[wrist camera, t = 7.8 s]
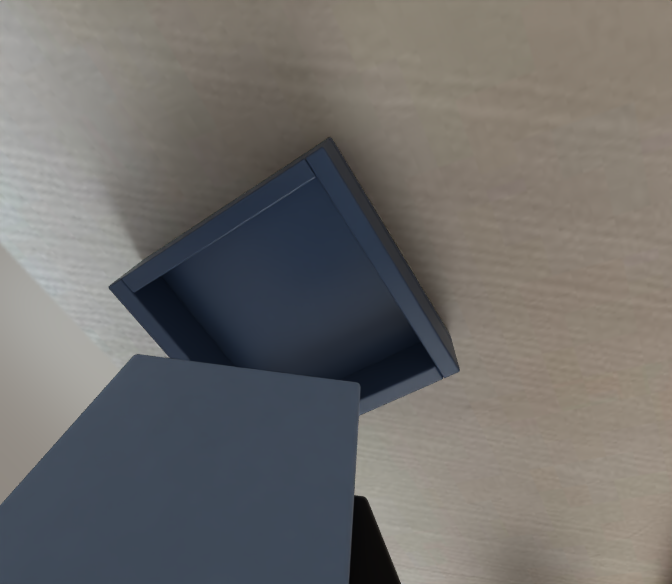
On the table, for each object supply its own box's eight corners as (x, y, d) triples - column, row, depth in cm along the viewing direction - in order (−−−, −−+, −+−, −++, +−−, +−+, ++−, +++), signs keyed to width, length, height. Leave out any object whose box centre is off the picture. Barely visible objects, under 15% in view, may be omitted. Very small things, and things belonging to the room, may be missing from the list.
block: (152, 510, 11) (17, 766, 7) (134, 351, 9) (-69, 576, 5) (338, 536, 11) (314, 815, 7) (361, 380, 9) (346, 639, 5)
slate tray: (271, 419, 19) (259, 460, 17) (141, 261, 17) (107, 287, 14) (450, 335, 17) (461, 371, 15) (331, 136, 14) (323, 146, 12)
